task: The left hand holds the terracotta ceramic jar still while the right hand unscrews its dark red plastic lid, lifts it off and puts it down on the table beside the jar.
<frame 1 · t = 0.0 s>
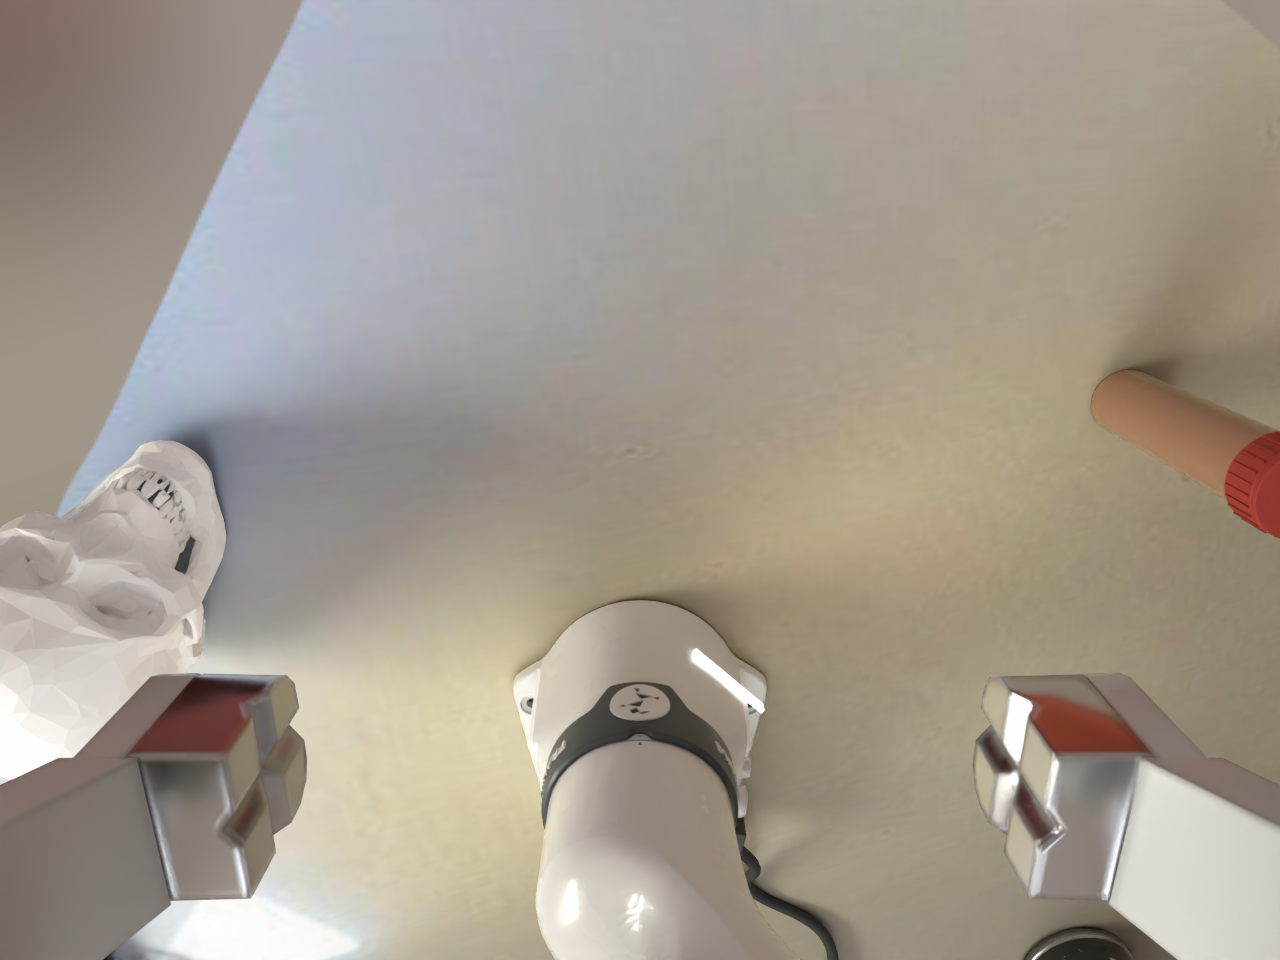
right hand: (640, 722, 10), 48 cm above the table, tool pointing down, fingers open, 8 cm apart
skull: (147, 565, 63), on the table
jar: (1123, 401, 59), on the table
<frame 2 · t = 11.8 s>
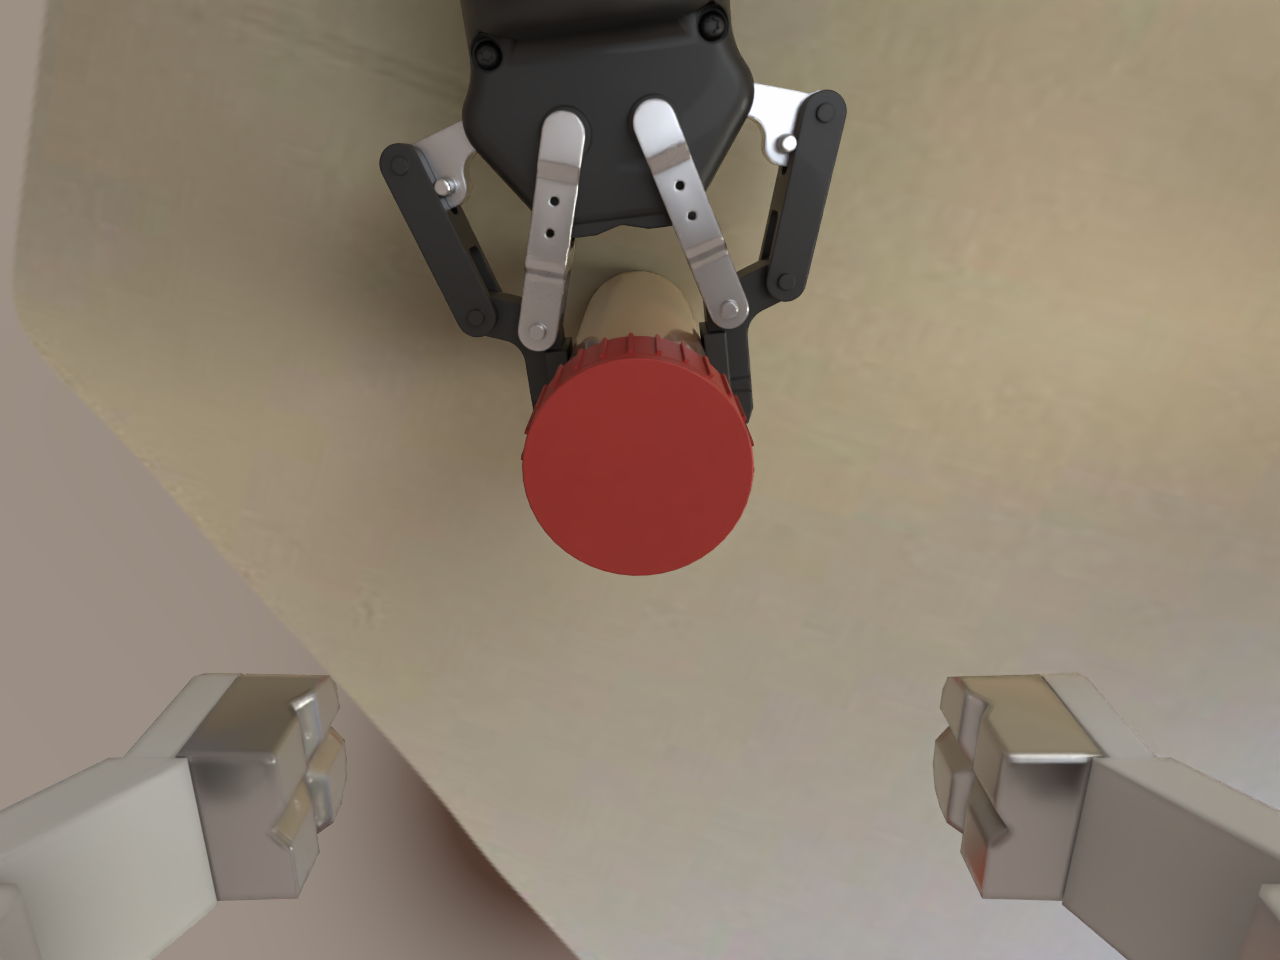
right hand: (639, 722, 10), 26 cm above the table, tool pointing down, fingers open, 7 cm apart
lid: (637, 466, 19), point 17 cm above the table, screwed on, not yet turned
jar: (638, 325, 35), on the table, touching left hand
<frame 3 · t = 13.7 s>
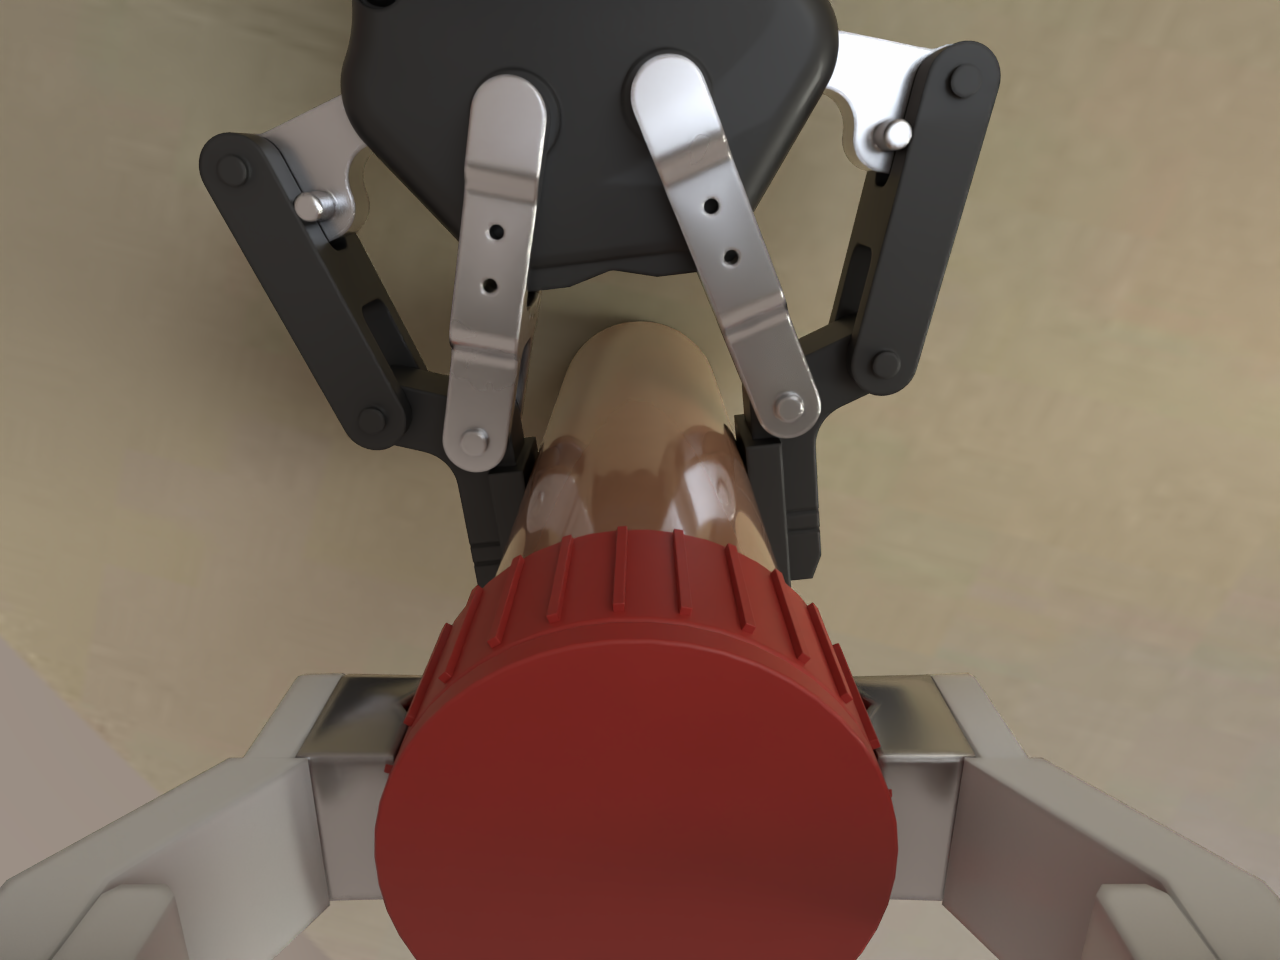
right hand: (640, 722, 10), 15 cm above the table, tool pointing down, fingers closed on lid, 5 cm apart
lid: (636, 842, 9), point 17 cm above the table, screwed on, not yet turned, touching right hand
jar: (639, 398, 24), on the table, touching left hand
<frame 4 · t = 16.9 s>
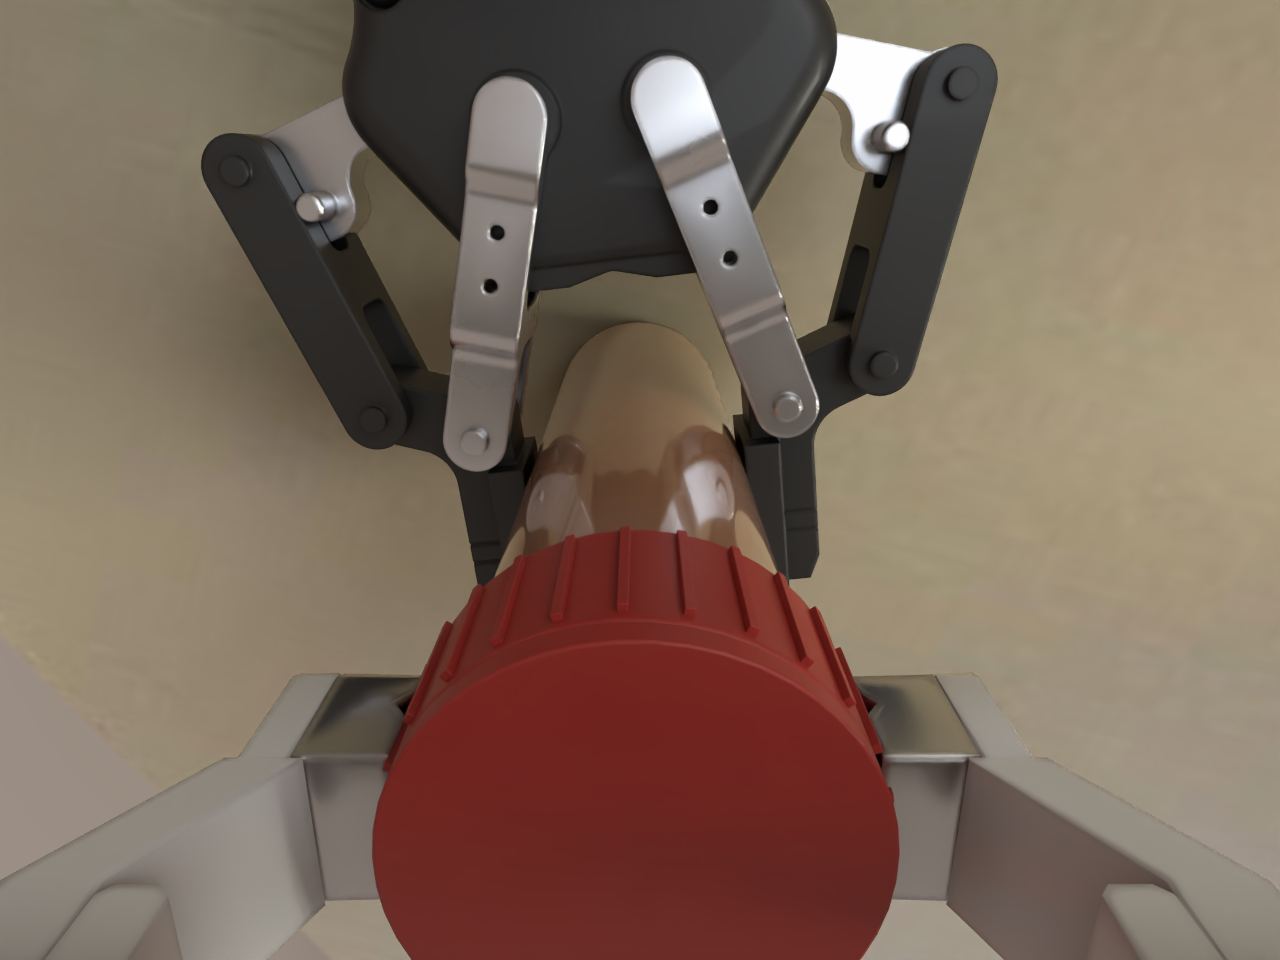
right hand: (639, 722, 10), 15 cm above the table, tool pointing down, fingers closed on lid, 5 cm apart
lid: (635, 844, 9), point 17 cm above the table, turned 82° so far, risen 0.1 cm, still on its thread, touching right hand
jar: (638, 399, 25), on the table, touching left hand
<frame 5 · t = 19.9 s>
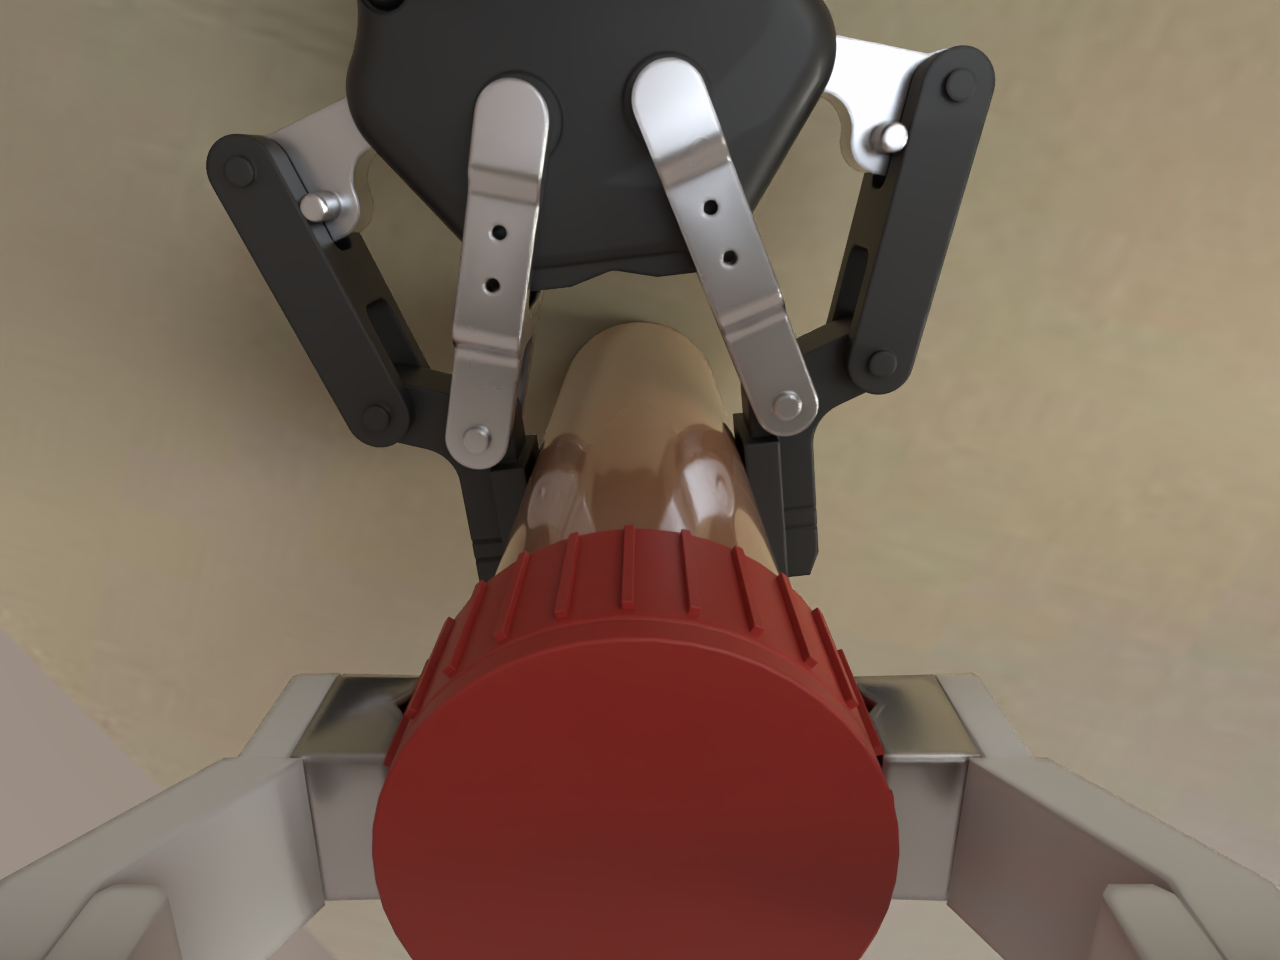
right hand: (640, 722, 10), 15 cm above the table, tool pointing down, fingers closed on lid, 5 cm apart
lid: (635, 843, 9), point 17 cm above the table, turned 164° so far, risen 0.3 cm, still on its thread, touching right hand
jar: (639, 398, 25), on the table, touching left hand
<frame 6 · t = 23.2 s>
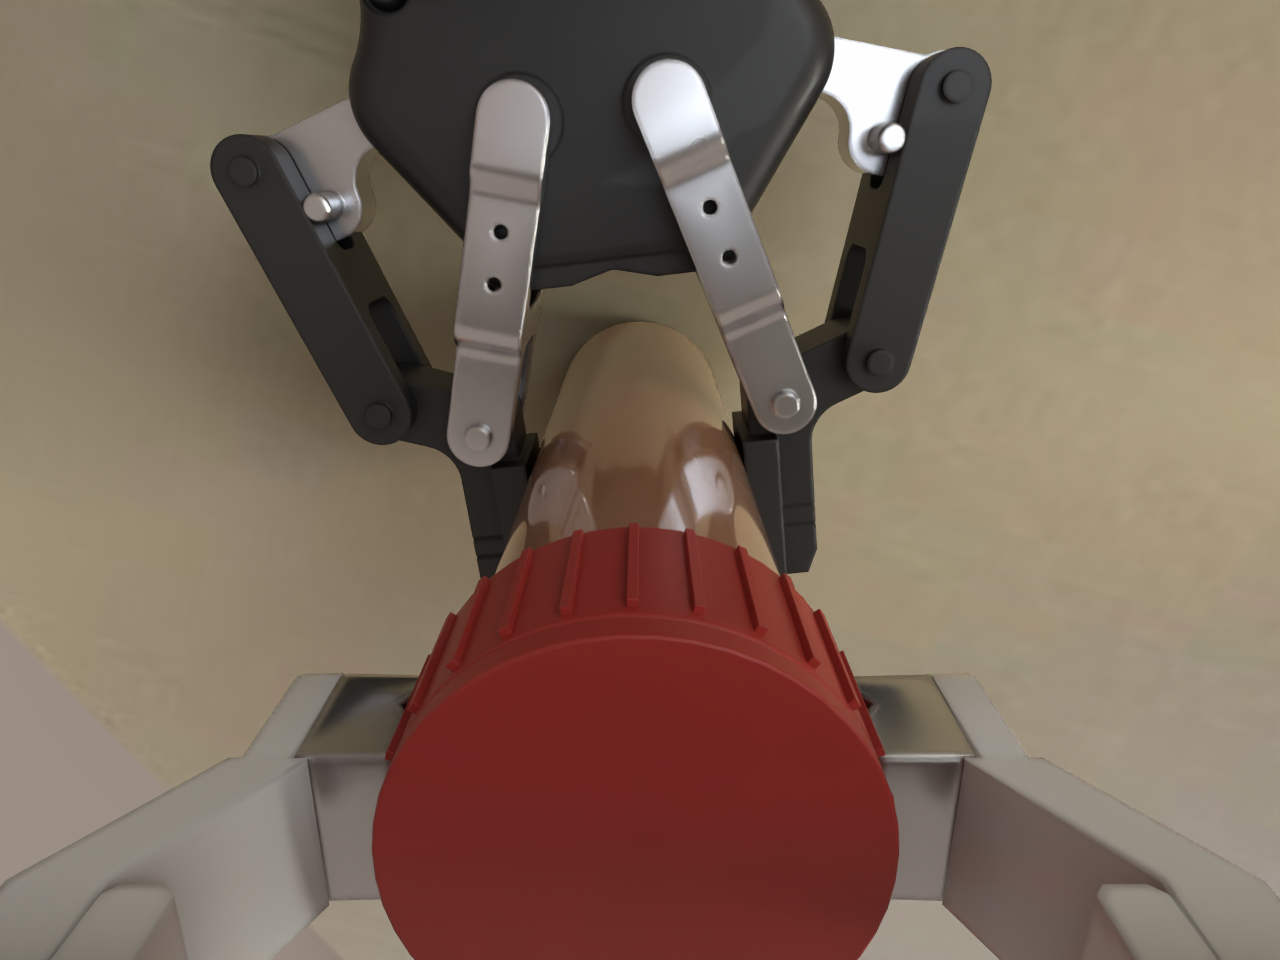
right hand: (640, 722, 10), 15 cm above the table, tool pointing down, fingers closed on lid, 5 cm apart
lid: (635, 841, 9), point 17 cm above the table, turned 247° so far, risen 0.4 cm, still on its thread, touching right hand
jar: (639, 397, 25), on the table, touching left hand
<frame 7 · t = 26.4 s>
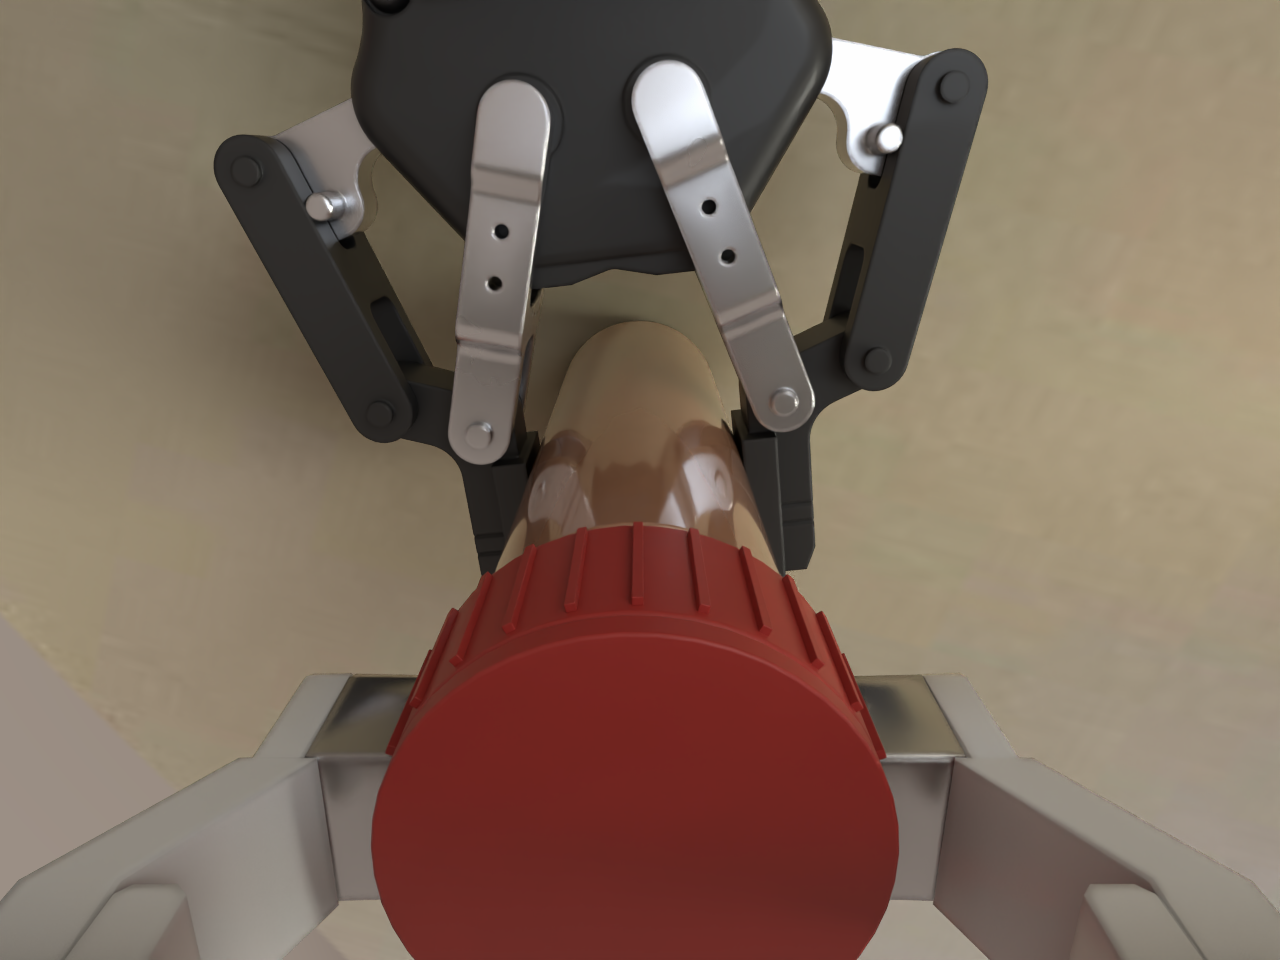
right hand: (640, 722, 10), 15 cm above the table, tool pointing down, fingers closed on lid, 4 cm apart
lid: (635, 839, 9), point 17 cm above the table, turned 329° so far, risen 0.6 cm, still on its thread, touching right hand
jar: (639, 396, 25), on the table, touching left hand
when the right hand's fingers open (2 cm above the table, at t = 35.1 s): lid drops 2 cm, point 2 cm above the table.
when the left hand's fingers open (7 cm above the table, at t = 36.1 s): jar stays where it is, on the table.
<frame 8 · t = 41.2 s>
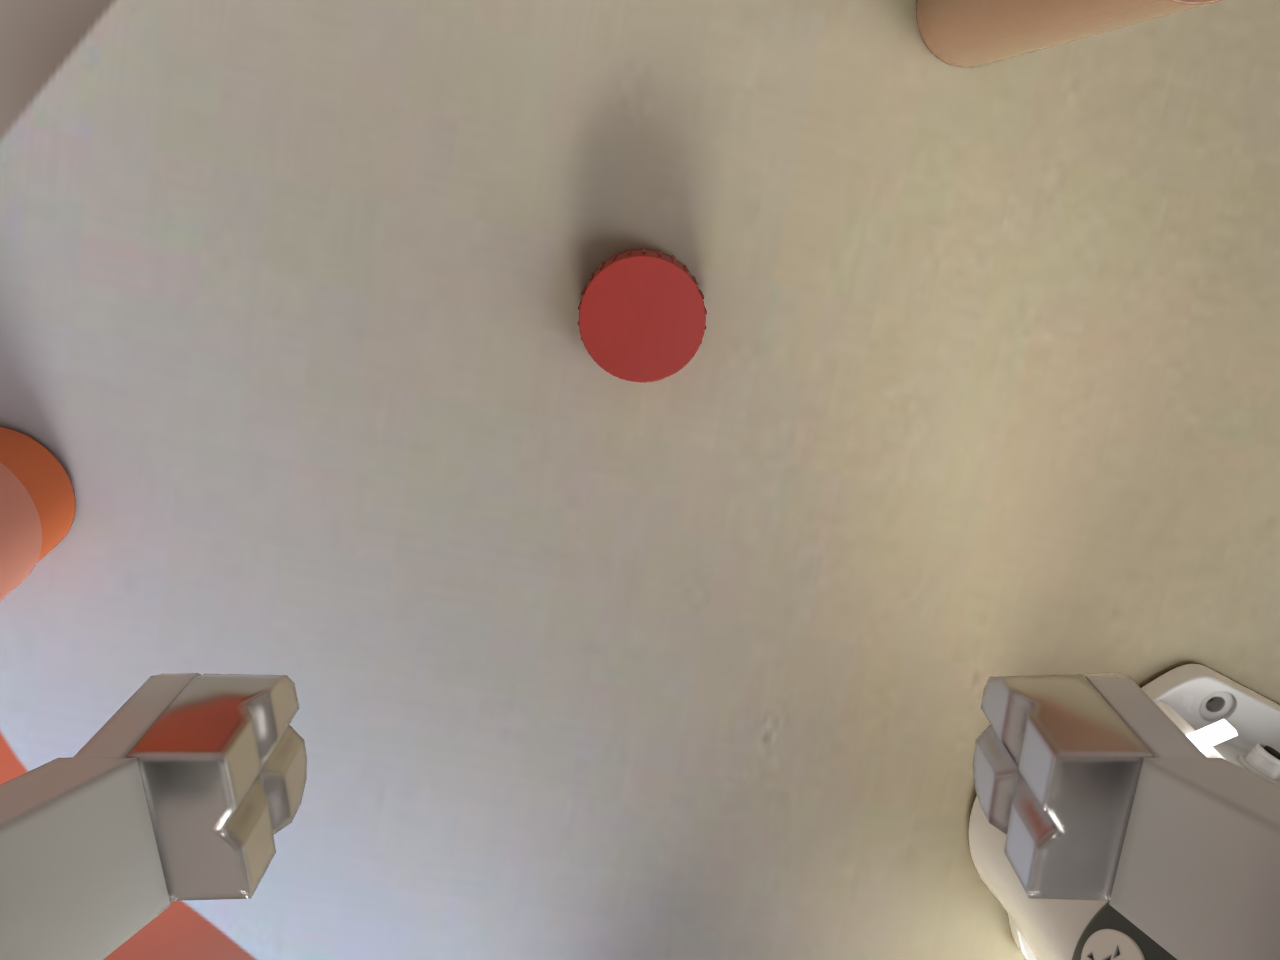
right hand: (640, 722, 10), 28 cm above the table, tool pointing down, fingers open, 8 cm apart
lid: (642, 319, 35), point 2 cm above the table, off its thread
cup with straw: (10, 489, 39), on the table
jar: (974, 3, 33), on the table
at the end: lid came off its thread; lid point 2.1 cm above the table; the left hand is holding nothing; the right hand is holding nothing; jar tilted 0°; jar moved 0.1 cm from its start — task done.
